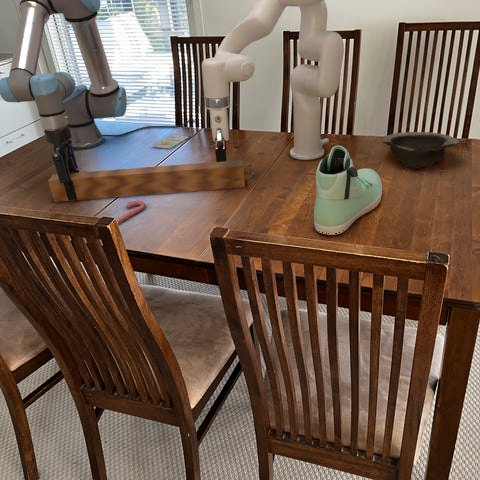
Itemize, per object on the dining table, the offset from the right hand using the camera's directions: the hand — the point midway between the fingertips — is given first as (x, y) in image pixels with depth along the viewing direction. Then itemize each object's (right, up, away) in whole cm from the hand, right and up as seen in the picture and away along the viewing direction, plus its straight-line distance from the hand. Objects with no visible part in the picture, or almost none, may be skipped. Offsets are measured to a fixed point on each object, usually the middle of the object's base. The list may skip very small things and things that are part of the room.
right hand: (221, 155), depth 153 cm
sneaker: (+37, -18, -14) cm, 44 cm away
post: (-24, -11, +6) cm, 27 cm away
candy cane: (-28, -19, -8) cm, 35 cm away
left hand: (-49, -12, +6) cm, 50 cm away
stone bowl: (+67, +1, +13) cm, 68 cm away
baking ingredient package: (-23, +14, +46) cm, 53 cm away
